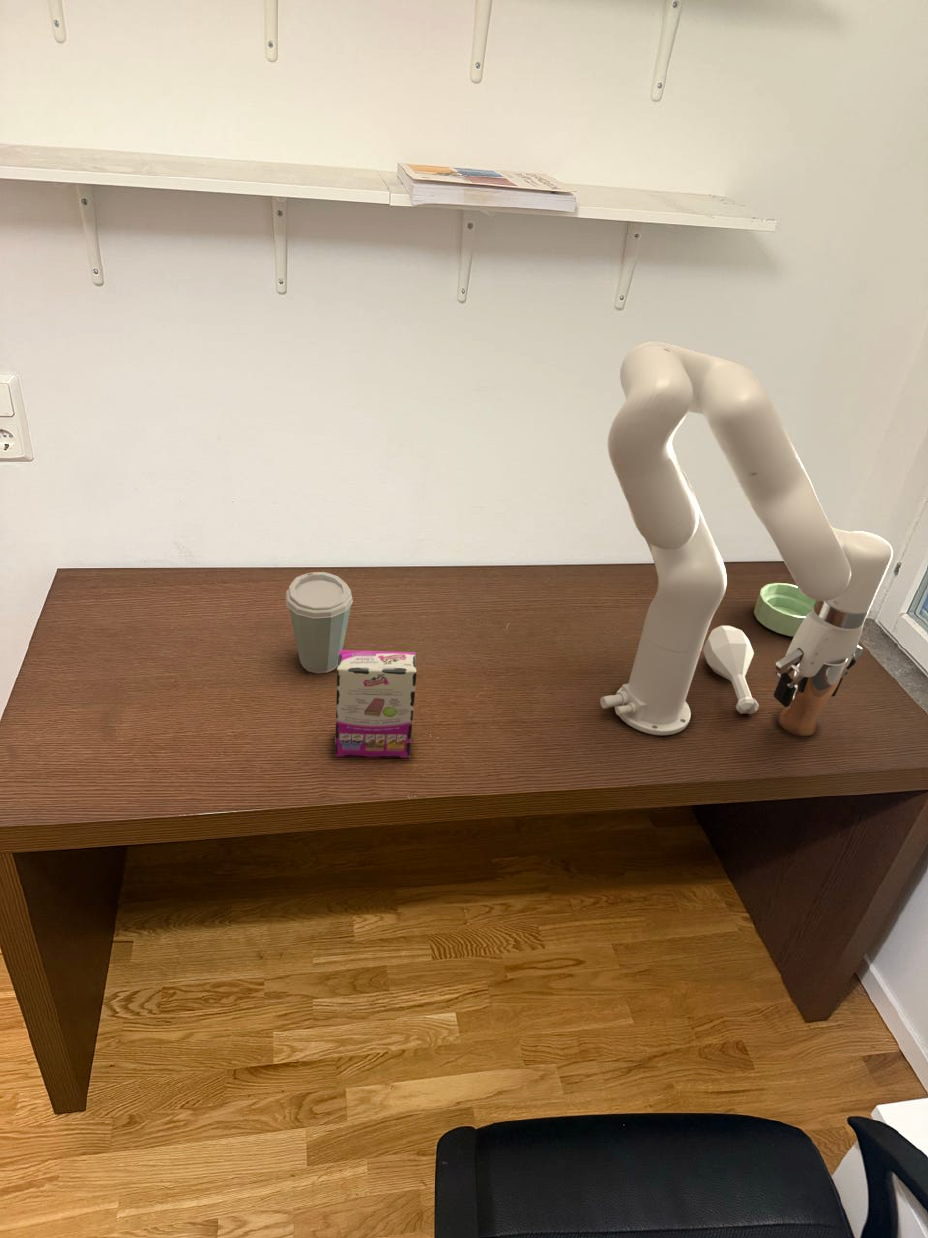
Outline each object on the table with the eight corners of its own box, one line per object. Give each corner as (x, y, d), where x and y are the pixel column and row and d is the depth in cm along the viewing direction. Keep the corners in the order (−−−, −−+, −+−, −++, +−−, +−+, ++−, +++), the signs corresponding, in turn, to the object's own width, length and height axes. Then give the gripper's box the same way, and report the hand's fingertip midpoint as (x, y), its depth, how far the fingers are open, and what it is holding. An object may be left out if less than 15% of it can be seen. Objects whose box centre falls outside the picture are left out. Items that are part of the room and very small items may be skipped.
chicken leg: (714, 719, 152) (749, 691, 147) (689, 640, 164) (720, 611, 159) (751, 732, 155) (786, 705, 150) (723, 654, 168) (754, 626, 163)
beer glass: (799, 708, 156) (828, 637, 147) (826, 734, 151) (858, 662, 142) (766, 714, 153) (794, 642, 145) (792, 741, 148) (823, 668, 140)
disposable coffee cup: (360, 674, 150) (364, 598, 142) (297, 688, 145) (298, 611, 137) (336, 638, 158) (339, 565, 149) (276, 651, 153) (275, 575, 144)
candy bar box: (408, 736, 139) (417, 650, 130) (409, 759, 135) (418, 672, 126) (334, 734, 138) (338, 647, 128) (333, 757, 133) (337, 669, 124)
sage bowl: (780, 643, 172) (788, 622, 169) (740, 608, 181) (747, 587, 178) (829, 634, 176) (838, 612, 174) (788, 600, 185) (795, 579, 183)
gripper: (864, 589, 145) (828, 674, 155) (780, 604, 138) (747, 691, 148) (899, 615, 139) (859, 701, 149) (813, 631, 133) (777, 720, 142)
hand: (803, 696), depth 148 cm, fingers open, 9 cm apart
